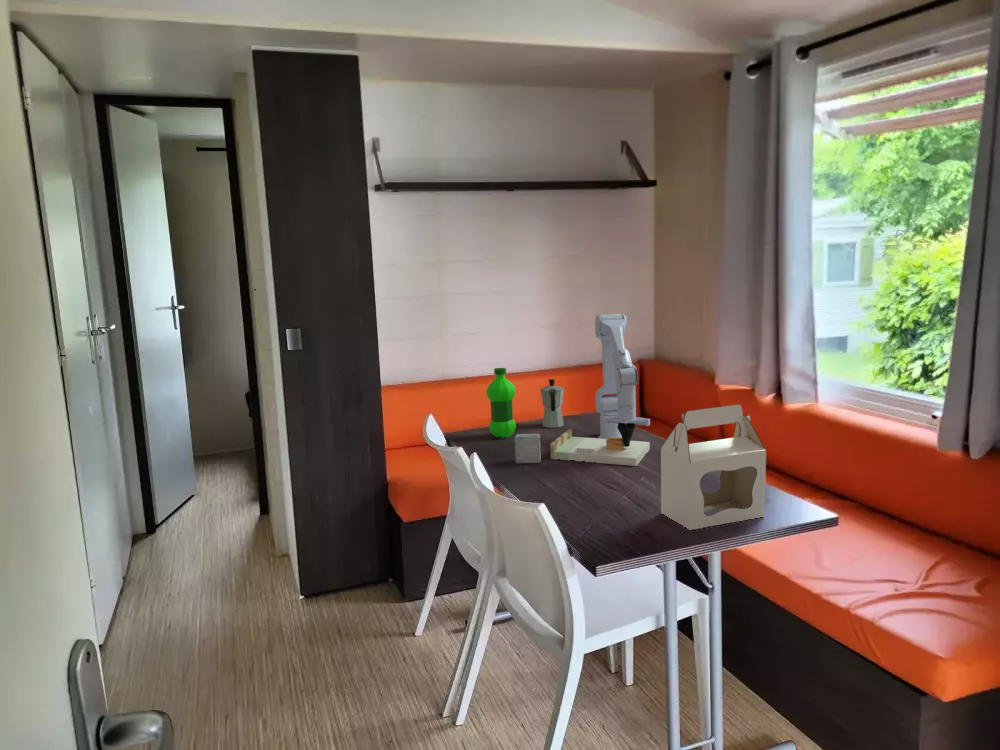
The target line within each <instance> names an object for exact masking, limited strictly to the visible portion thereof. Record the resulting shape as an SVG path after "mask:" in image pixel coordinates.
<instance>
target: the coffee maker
mask: <svg viewBox="0 0 1000 750" xmlns="http://www.w3.org/2000/svg"><path fill="white" fill-rule="evenodd" d="M555 382H556V380H555V379H554V378H551V379H548V383H549V384H548V385H547V386H543V387H541V388H540V394H541V401H542V406H543V407H544V409H543V417H542V425H543V426H542V428H543V427H549V428H550V427H561V426H564V427H565V424H564V418H563V412H562V405H563V401H564V392H565V391H564V390H565V388H564V387H561V386H559V385H555ZM561 428H562V427H561Z"/></svg>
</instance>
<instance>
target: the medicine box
mask: <svg viewBox="0 0 1000 750" xmlns="http://www.w3.org/2000/svg"><path fill="white" fill-rule="evenodd" d="M514 449H515V450H514V452H515V464H540V463H541V461H542V457H541V456H542V454H541V453H542V451H541V434H540V433H519V434H518V433H517V434H515V436H514Z"/></svg>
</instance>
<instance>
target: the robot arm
mask: <svg viewBox="0 0 1000 750" xmlns="http://www.w3.org/2000/svg"><path fill="white" fill-rule="evenodd" d="M594 319H595V321H594V328H595V329H594V331H595V333H594V334H595V336H596V337H595V338H597V339H600V342H601V356H602V357H601V358H602V380H603V381H602V384H603V385H602V386H601V387H600V388H598V389H597V390H596V392H595V399H594V403H595V410H596V412H597V413H598V414H599V417H600V418H599V420H600V423H599V425H600V430H599V431H600V435H598V437H597V438H599V439H608V438H609V437H622V439H623V442H624V447H629V446H630V441H632V440H631V439H632V437H633V433H634V431H635V429H636V426H645V427H649V426H650V424H651V419H650V418H644V417H638V416H636V415H637V413H636V410H637V408H636V407H637V406H636V402H637V401H636V394H637V393H636V386H637V385H638V382H639V373H638V369H637V367H636V366H635V364H633V362H632V361H633V360H632V358H631V354H630V351H629V350H628V349H626V346H625V340H624V334H625V333H626V329H627V327H628V326H627V323H628V322H627V321H628V320H627V317H626V314H624V313H623V312H621V313H614V314H613V313H611V314H597V315H596V316H595V318H594Z"/></svg>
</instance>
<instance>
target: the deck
mask: <svg viewBox="0 0 1000 750" xmlns="http://www.w3.org/2000/svg"><path fill="white" fill-rule="evenodd" d="M572 431H573V430H572V429H567V430H566V431H565V432H564V433H562V434H561V435H560V436H559V437H557V438H556V439H554V440H552V442H551V443H550V447H549V448H550V459H551V460H558V459H560V460H561V461H570V460H575V461H574V462H582V461H585V463H594V462H595V463H597V464H608V465H609V464H610V465H619V466H630V467H631V466H632V467H633V466H634V467H636V466H638V465H639V463H640V462H641V461H642V459H644V457H645V456H646V455H647V454H648V452H649V451H650V450H649V449H651V448H650V447H651V446H650V444H651V443H650V441H640V440H630V446H629V447H624V448H623V449H622V450H611V449H606V440H607V439H599V438H598V437H583V436H573V435H572V434H573V433H572ZM645 454H646V455H645ZM560 460H559V461H560Z"/></svg>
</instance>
